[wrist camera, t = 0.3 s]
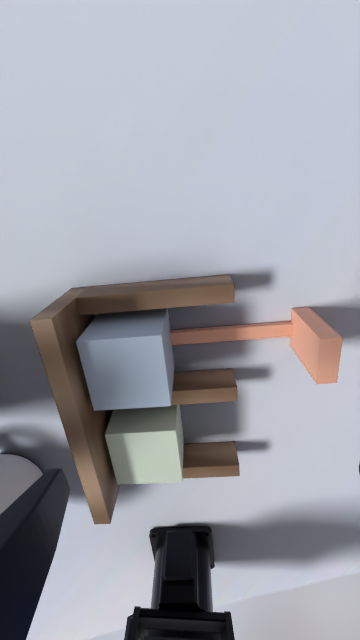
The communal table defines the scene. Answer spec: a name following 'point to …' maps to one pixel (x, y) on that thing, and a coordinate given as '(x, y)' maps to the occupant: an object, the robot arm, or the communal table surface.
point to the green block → (146, 445)
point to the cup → (15, 478)
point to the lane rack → (90, 426)
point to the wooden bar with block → (157, 339)
